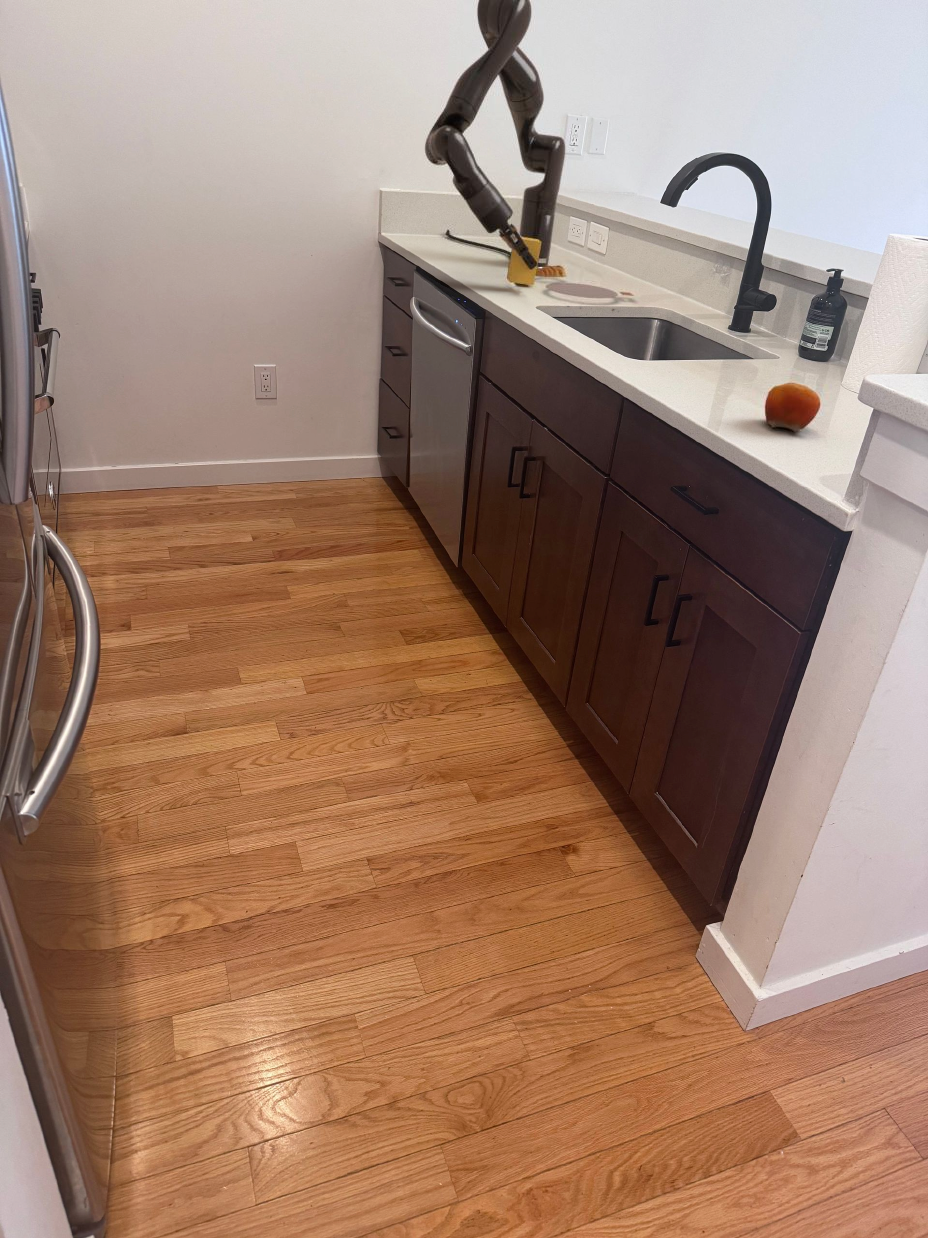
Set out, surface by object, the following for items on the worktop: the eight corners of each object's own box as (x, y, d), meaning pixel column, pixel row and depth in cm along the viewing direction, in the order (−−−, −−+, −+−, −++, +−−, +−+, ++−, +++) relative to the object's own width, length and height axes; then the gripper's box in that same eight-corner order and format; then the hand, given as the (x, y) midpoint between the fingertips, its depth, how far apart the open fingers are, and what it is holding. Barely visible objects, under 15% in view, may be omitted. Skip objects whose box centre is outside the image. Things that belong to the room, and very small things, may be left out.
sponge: (506, 278, 217) (513, 235, 212) (529, 281, 218) (537, 238, 213) (509, 281, 213) (517, 237, 208) (533, 285, 214) (541, 241, 209)
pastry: (542, 283, 229) (544, 268, 227) (525, 278, 233) (526, 263, 231) (567, 282, 234) (570, 267, 232) (550, 277, 238) (552, 262, 237)
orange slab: (617, 297, 222) (618, 291, 221) (628, 298, 222) (630, 292, 221) (621, 301, 218) (623, 294, 217) (633, 301, 219) (634, 295, 218)
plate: (538, 286, 225) (539, 280, 224) (605, 291, 227) (606, 285, 227) (553, 301, 209) (554, 294, 209) (625, 306, 212) (626, 300, 211)
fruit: (759, 422, 133) (773, 372, 133) (755, 436, 141) (769, 388, 141) (814, 433, 131) (828, 381, 131) (807, 446, 139) (821, 397, 139)
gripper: (506, 198, 199) (550, 259, 207) (496, 191, 211) (538, 249, 219) (481, 221, 201) (525, 281, 209) (472, 213, 213) (514, 270, 221)
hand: (531, 264), depth 214 cm, fingers closed on sponge, 4 cm apart
